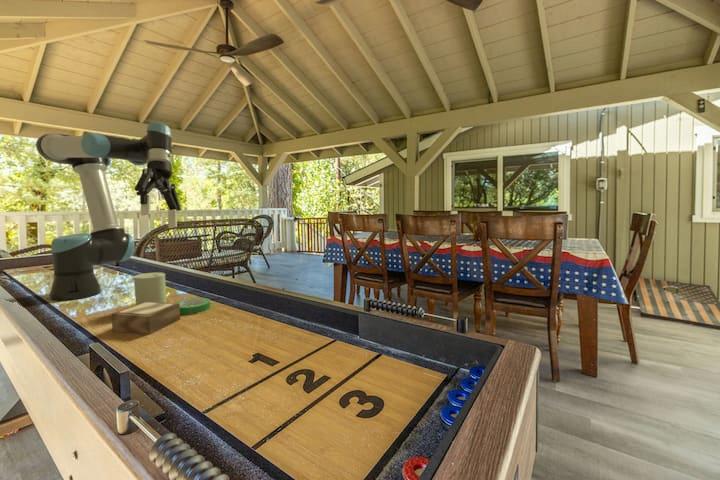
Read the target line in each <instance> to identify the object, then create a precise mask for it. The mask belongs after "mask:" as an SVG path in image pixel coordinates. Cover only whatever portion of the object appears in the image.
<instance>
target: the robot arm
mask: <svg viewBox="0 0 720 480" xmlns="http://www.w3.org/2000/svg"><path fill="white" fill-rule="evenodd" d="M172 143H173V137H172V132H171V128H170V127H169V125H166V124H164V123H163V122H152V123H149V124H147V126H146V134H145V135H144V136H143V137H141V138H139V139H138V140H137V139H131V138H125V137H119V136H118V137H117V136H113V135H107V134H102V133H95V132H87V133H85V134H84V135H70V134H64V133H63V134H62V133H45V134H42V135H40V136H39V137H38V138H37V140H36V143H35V147H36V151H37V152H38V154H39V155H40V156H41V157H43V158H44V159H46V160H47V161H50V162H52V163H55V164H64V165H70V166H71V167H72V170H73V172H74V173H76V174H77V175H78V176H79V179H80V183H81V187H82V192H83V195H84V199H85V203H86V207H87V209H88V215H89V218H90V220H91V225H92V228H93V229H92V230H91V231H90V233H89V232H88V233H87V232H86V233H85V232H82V233H73V234H67V235H61V236H58V237H55V238H53V240H52V241H51V250H50V252H51V257H52V266H53V276H54V278H53V282H52V283H51V289H50V291H49V298H50V300H52V299H54V300H53V301H68V300H67V299H71V300H78V299H84V298H89V297H93V296H95V295H98V294H101V293H102V288H101V287H102V286H101V285H100V284H99V281H98V279H97V277H96V275H95V271H94V266H99V265H105V264H112V263H119V262H125V261H128V260H129V259H130V258H131V257H132V256H133V254H134V251H135V240H134V237H133V236H132V235H131V234H130V233H127V232H125V228H124V227H122V226H120V225H119V222H118V219H117V218H118V217H117V216H116V215H117V214H116V211H115V207H114V203H113V200H112V195H111V193H110V188H109V185H108V181H107V177H106V173H105V172H106V171H107V170H108V167H109V166H110V164H111V161H112V160H111V159H115V160H123V161H128V162H129V163H131V164H133V166H134V165H135V166H137V167H138V166H139V167H140V166H144V165H146V168H143V169H142V172H141V175H140V177H139V179H138V181H137V183H136V185H135V187H134V190H135V191H136V196H138V197H139V202H140V216H142V217H143V216H148V215H151V210H152V209H151V203H152V202H151V196H152V195H151V194H150V192H151V191H152V190H153V189H156V190H158V191H159V192H160V195H162V196H163V199H164V201H165V203H166V205H167V207H168V209H169V210H167V222H168V223H167V228H168V229H173V228H177V227H178V212H179V211H181V210H182V208H181V205H180V201H179V197H178V194H177V191H176V184H175V183H170V180H169V179H170V178H171V177H172V176H173V167H172V164H173V163H172V150H173V149H172V145H173V144H172Z"/></svg>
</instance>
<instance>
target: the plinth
mask: <svg viewBox="0 0 720 480" xmlns="http://www.w3.org/2000/svg"><path fill="white" fill-rule="evenodd" d="M110 315H111V328H112V329H111V330H112V332H116V333H117V332H118V333H130V334H131V333H133V334H142V335H143V334H144V335H151V334H154V333H155V332H158V331H160V330H162V329H163V328H166V327H168V326H170V325H172V324H173V323H174V324H175V323H176V322H178V321H180V320H181V314H180V305H179V304H177V303H176V302H174V303H173V302H167V303H160V302H143V303H140V304H137V305H136V304H134V305H133V306H128V307H127V308H123V309H121V310H118V311H115V312H113V313H111V314H110Z"/></svg>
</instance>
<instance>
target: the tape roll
mask: <svg viewBox="0 0 720 480" xmlns="http://www.w3.org/2000/svg"><path fill="white" fill-rule="evenodd" d="M175 303H177V304H179V305H180V315H191V314H190V313H195V314H198V313H197V312H200V313H203V312H206V311H208V310H210V309H211V299H209V298H207V297H190V298H185V299H181V300H179V301H176V302H175ZM191 305H193V306H191ZM209 308H210V309H209ZM207 309H208V310H207ZM205 310H206V311H205ZM202 311H203V312H202Z"/></svg>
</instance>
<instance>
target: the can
mask: <svg viewBox="0 0 720 480" xmlns="http://www.w3.org/2000/svg"><path fill="white" fill-rule="evenodd" d="M133 283H134V285H133V286H134V296H135V298H134V299H135V305H137V304H140V303H143V302H160V303H168V302H167V289H166V287H167V286H166V273H164V272H147V273H140V274H136V275H134V276H133Z"/></svg>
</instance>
